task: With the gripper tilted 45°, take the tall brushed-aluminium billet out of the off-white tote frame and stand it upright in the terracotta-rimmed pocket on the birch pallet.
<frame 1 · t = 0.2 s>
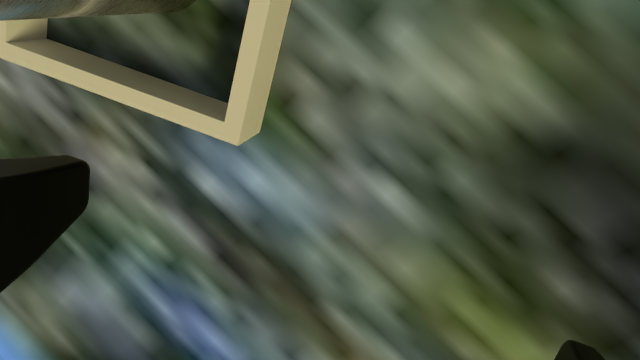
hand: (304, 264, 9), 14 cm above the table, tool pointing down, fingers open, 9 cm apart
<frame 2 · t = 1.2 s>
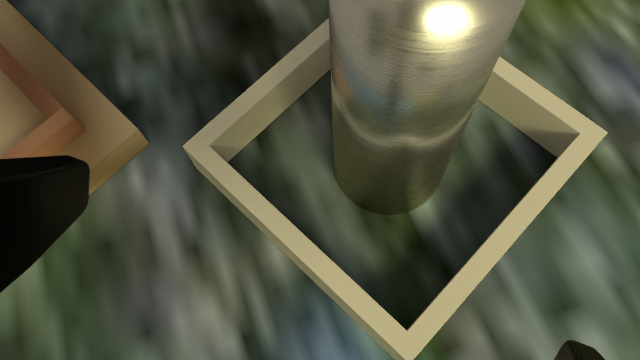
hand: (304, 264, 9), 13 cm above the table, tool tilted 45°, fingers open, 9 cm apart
billet: (402, 89, 18), in the tote frame
tote frame: (387, 163, 24), on the table
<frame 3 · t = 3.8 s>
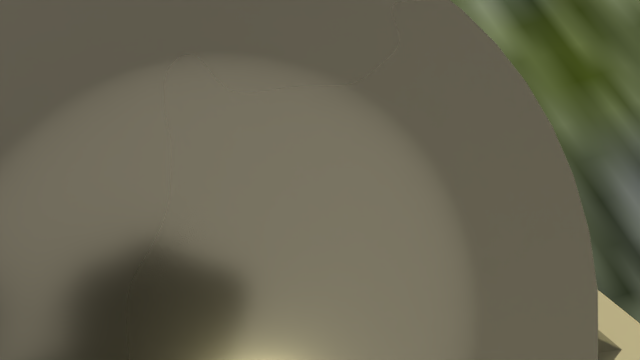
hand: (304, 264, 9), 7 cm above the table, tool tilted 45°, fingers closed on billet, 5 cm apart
billet: (274, 341, 9), in the tote frame, touching gripper
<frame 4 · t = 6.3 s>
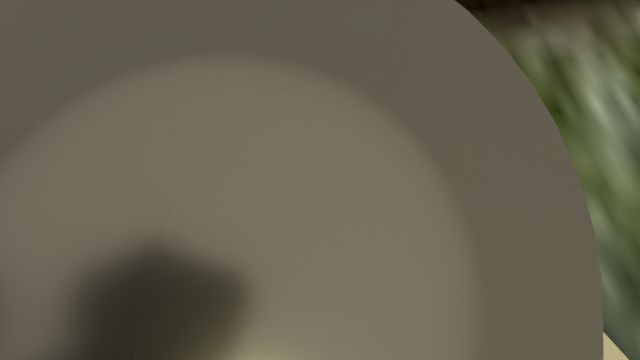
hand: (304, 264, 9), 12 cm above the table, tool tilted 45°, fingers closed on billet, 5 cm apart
billet: (276, 340, 9), point 12 cm above the table, touching gripper
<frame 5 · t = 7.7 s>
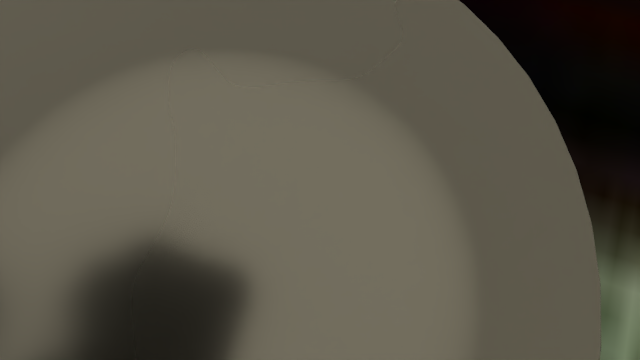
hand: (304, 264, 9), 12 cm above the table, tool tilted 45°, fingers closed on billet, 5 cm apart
billet: (275, 338, 9), point 12 cm above the table, touching gripper
when the fingers open (9 cm above the table, at t = 9.0 s): billet stays where it is, resting on pallet.
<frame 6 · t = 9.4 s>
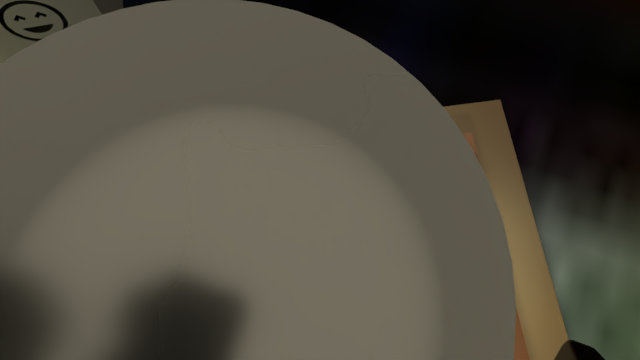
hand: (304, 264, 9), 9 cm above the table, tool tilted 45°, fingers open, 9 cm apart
billet: (275, 345, 10), in the pallet, point 8 cm above the table
dice cube: (69, 16, 23), on the table
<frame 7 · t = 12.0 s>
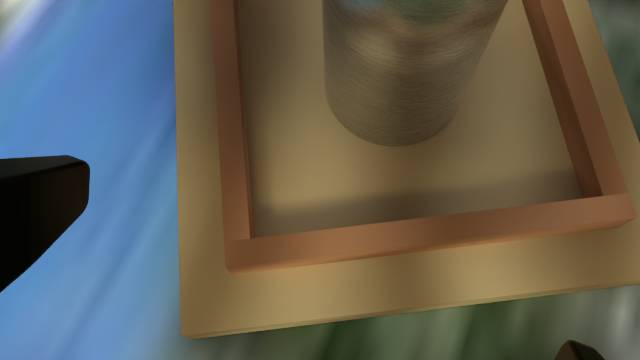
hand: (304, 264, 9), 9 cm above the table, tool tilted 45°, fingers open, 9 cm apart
pallet: (389, 103, 21), on the table
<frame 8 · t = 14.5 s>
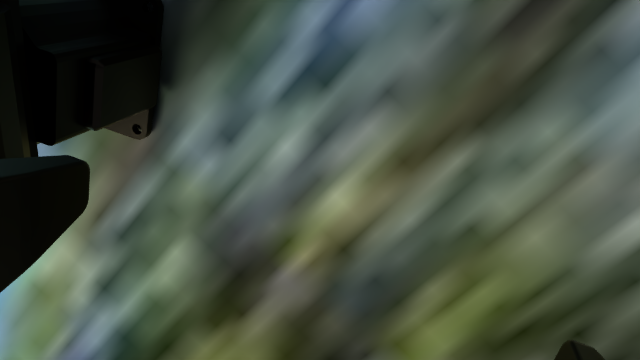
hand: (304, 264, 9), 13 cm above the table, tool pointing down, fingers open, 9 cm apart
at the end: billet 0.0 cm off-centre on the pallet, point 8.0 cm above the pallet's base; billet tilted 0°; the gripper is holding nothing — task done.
